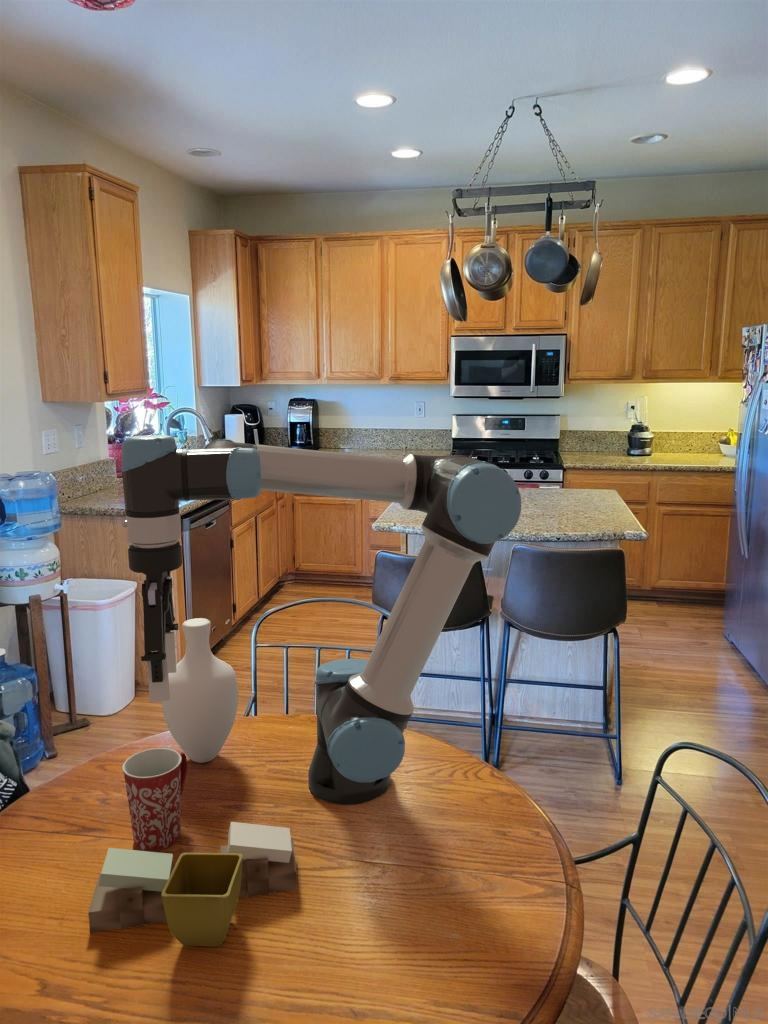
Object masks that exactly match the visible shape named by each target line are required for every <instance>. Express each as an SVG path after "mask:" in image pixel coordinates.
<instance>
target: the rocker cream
mask: <svg viewBox="0 0 768 1024" xmlns="http://www.w3.org/2000/svg"><path fill="white" fill-rule="evenodd" d="M290 829H291V828H290V827H283V826H272V825H267V824H266V825H264V824H256V823H245V822H238V821H237V822H236V821H230V824H229V829H228V833H227V835H228V836H227V845H228V853H239V854H242V855H243V858H245V859H262V858H268V861H276V862H286V863H289V861H290V857H291V852H292V848H291V838H292V837H291V830H290Z"/></svg>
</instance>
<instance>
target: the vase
mask: <svg viewBox="0 0 768 1024" xmlns="http://www.w3.org/2000/svg"><path fill="white" fill-rule="evenodd" d="M211 628H212V624H211V620H209V619H207V618H205V617H204V618H203V617H199V618H196V617H195V618H191V619H187V620H184V622H183V623H182V631H183V635H184V639H185V640H184V641H185V653H184V655H183V657H182V658H181V660H180V661H178V663H177V662H176V673H168V678H169V693H170V700H169V701H161V709H162V712H163V717H164V719H165V723H166V725H167V728H168V731H169V733H170V734H171V736H172V738H173V739H174V741H175V742H176V743H177V744H178V746H179V747H180V749H181V750H182V752H183V753H184V754H185V755H186V757H187V758H189V760H190V761H192V762H195V763H207V762H210V761H212V760H214V759H215V758H217V756H218V755H219V754H220V752H221V751H222V748H223V746H225V743H226V741H227V739H228V737H229V735H230V733H231V730H232V729H233V727H234V726H233V725H234V723H235V720H236V715H237V713H238V712H237V710H238V706H239V705H238V704H239V685H238V679H237V675H236V672H235V670H234V669H233V667H232V665H230V664H229V663H227V662H225V661H224V660H222V659H219V658H218V657H216V656H215V655H214V654H213V652H212V650H211V647H210V634H211Z"/></svg>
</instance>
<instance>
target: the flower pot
mask: <svg viewBox="0 0 768 1024" xmlns="http://www.w3.org/2000/svg"><path fill="white" fill-rule="evenodd" d="M242 862H243V855H242V854H239V853H220V852H219V853H218V852H213V853H212V852H208V853H207V852H182V853H181V854H180V855H179V857H178V858H177V861H176V863H174V864H175V867H174V869H173V871H172V873H171V875H170V877H169V879H168V881H167V883H166V885H165V887H164V889H163V891H162V894H161V896H162V901H163V906H164V910H165V915H166V920H167V922H166V923H167V927H168V930H169V931H170V932H171V934H172V935H173V936H174V938H175V939H176V940H177V941H178V942H179V943H181V945H182V946H185V947H188V946H189V947H219V946H221V945H222V944H223V942H224V941H225V938H226V936H227V934H228V931H229V927H230V925H231V921H232V918H233V915H234V913H235V911H236V910H235V909H236V907H237V904H238V900H239V898H240V897H239V893H240V887H241V876H242ZM238 897H239V898H238Z"/></svg>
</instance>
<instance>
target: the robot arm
mask: <svg viewBox="0 0 768 1024" xmlns="http://www.w3.org/2000/svg"><path fill="white" fill-rule="evenodd" d="M176 443H177V442H176V439H175V438H174V437H173V436H172V435H163V434H161V435H159V434H158V435H157V434H150V435H148V434H147V435H134V436H129V437H127V438H125V439H124V440H123V442H122V443H121V469H120V471H121V475H122V477H121V478H122V486H123V487H122V488H123V501H124V513H125V520H123V521H122V523H121V526H122V527H123V528H127V530H126V536H127V537H126V539H127V542H129V543H130V544H129V545H128V547H127V556H128V557H127V558H128V568H129V569H130V571H132V572H133V573H137V574H143V575H145V578H143V579H144V580H143V583H142V584H141V597H142V606H143V607H142V608H143V612H142V613H143V642H144V645H143V646H144V647H143V649H144V655H141V656H140V661H141V662H146V664H147V665H146V666H147V679H148V680H147V681H148V695H149V703H158V702H161V703H162V701H169V700H170V693H169V678H168V673H176V664H177V658H176V640H175V639H176V638H175V631H179V623H175V621H176V617H175V611H174V601H173V577H171V572H173V571H175V570H177V569H179V568H181V567H182V565H183V550H182V549H183V547H182V543H181V542H180V541H179V540H180V539H181V538H182V525H181V523H182V522H181V511H180V502H181V501H183V502H190V501H219V500H235V501H240V500H244V499H245V500H246V499H252V498H253V499H254V498H258V497H259V496H260V495H261V493H262V491H266V492H277V493H287V494H298V495H299V494H300V495H309V496H320V497H328V498H331V497H332V498H339V499H340V498H342V499H353V500H364V501H375V502H382V503H383V502H384V503H385V502H386V503H395V504H399V506H401V507H402V509H403V510H407V511H408V510H409V511H418V512H422V513H426V516H425V518H424V520H423V522H422V524H421V526H420V527H421V530H422V533H423V536H424V541H423V544H422V546H421V548H420V551H419V552H418V554H417V556H416V558H415V561H414V563H413V565H412V567H411V569H410V571H409V573H408V575H407V577H406V580H405V581H404V584H403V586H402V588H401V591H400V593H399V595H398V596H397V599H396V601H395V602H394V605H393V607H392V609H391V611H390V614H389V616H388V617H387V620H386V622H385V624H384V626H383V628H382V630H381V632H380V634H379V636H378V639H377V641H376V643H375V645H374V647H373V648H372V649H373V650H372V652H371V654H370V656H369V658H368V660H367V659H364V658H343V659H334V660H330V661H326V662H324V663H323V664H321V665H319V667H318V668H317V670H316V672H315V680H314V684H315V690H316V691H315V692H316V693H315V696H316V697H315V698H316V700H315V701H316V734H317V736H316V737H317V738H316V747H315V750H314V753H313V757H312V758H311V762H310V765H309V768H308V775H307V776H308V777H307V779H308V788H309V790H310V792H311V793H312V794H313V795H314V796H315V797H316V798H318V799H320V800H321V801H324V802H327V803H330V804H334V805H335V804H336V805H341V806H342V805H344V806H345V805H346V806H350V805H351V806H353V805H359V804H365V803H368V802H372V801H374V800H376V799H378V798H380V797H382V796H383V795H385V793H386V792H387V791H388V790H389V788H390V786H391V783H392V781H391V775H392V774H393V773H394V772H395V771H396V770H397V769H398V768H399V766H400V765H401V764H402V761H403V759H404V756H405V751H406V740H405V737H404V732H405V730H406V727H407V725H408V724H409V721H410V719H411V717H412V715H413V713H414V710H415V706H414V703H413V700H412V698H411V695H412V693H413V691H414V689H415V687H416V685H417V682H418V681H419V678H420V676H421V674H422V672H423V670H424V668H425V666H426V664H427V662H428V660H429V658H430V656H431V653H432V651H433V649H434V647H435V645H436V643H437V641H438V639H439V637H440V634H441V632H442V631H443V629H444V626H445V624H446V623H447V620H448V618H449V616H450V613H451V612H452V610H453V608H454V605H455V603H456V602H457V599H458V598H459V595H460V593H461V592H462V589H463V587H464V585H465V583H466V581H467V579H468V577H469V575H470V572H471V570H472V568H473V567H474V565H475V564H476V563H477V562H480V561H483V560H485V559H488V558H489V555H490V554H491V551H492V549H493V548H494V546H495V543H496V542H498V541H500V540H502V539H505V538H506V537H507V536H508V535H510V534H511V532H513V530H514V529H515V528H516V526H517V524H518V522H519V520H520V516H521V512H522V497H521V493H520V490H519V487H518V485H517V483H516V482H515V480H514V478H513V477H512V476H511V475H510V474H509V473H508V472H507V471H505V470H504V469H502V468H500V467H499V466H497V465H496V464H494V463H491V462H490V463H489V462H488V461H484V460H480V459H476V458H474V457H470V456H467V455H453V454H452V455H427V454H426V455H425V454H424V455H422V454H411V453H409V454H408V455H407V456H404V458H394V457H384V456H383V457H381V456H373V455H372V456H371V455H365V454H363V455H362V454H354V453H353V454H352V453H346V452H345V453H344V452H335V451H334V452H333V451H326V450H317V449H315V450H314V449H306V448H305V449H303V448H295V447H287V446H275V445H265V444H252V443H246V442H245V443H244V442H235V441H233V440H231V439H225V438H218V439H216V440H212V441H210V442H209V443H207V444H206V445H205V446H204V447H203V448H197V449H196V448H194V449H188V448H186V449H184V448H178V445H177V444H176Z"/></svg>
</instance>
